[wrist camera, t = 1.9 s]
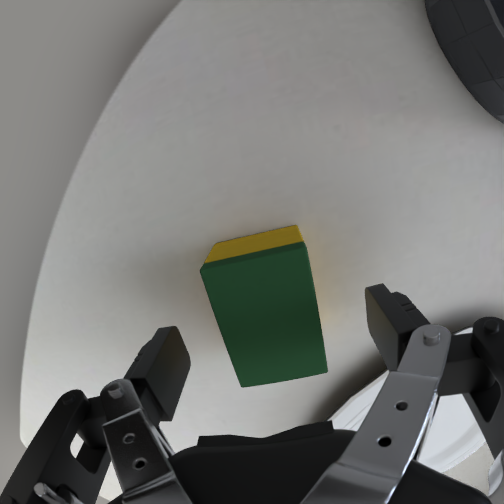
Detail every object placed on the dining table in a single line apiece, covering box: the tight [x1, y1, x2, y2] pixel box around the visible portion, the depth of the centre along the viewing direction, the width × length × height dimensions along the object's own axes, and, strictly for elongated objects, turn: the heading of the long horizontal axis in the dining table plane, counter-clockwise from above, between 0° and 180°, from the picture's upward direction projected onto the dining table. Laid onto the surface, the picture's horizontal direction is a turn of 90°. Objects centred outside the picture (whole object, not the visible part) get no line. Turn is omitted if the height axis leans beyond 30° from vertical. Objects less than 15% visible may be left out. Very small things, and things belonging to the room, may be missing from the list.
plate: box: [324, 326, 486, 473], centre depth 17 cm, size 21×21×2 cm
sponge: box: [200, 225, 328, 387], centre depth 13 cm, size 6×4×4 cm, turn 14°
